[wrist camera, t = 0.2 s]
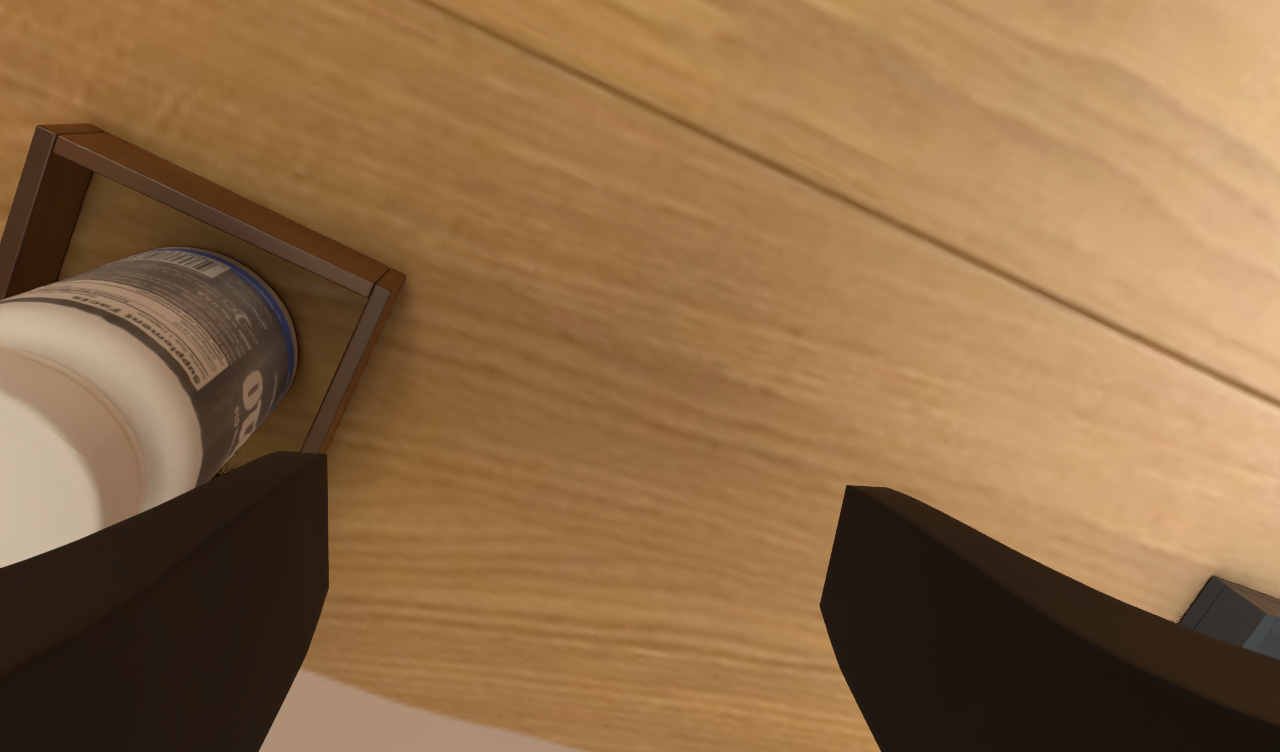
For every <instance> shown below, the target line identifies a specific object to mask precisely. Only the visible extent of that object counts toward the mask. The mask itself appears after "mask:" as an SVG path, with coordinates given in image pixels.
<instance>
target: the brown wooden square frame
mask: <svg viewBox="0 0 1280 752" xmlns="http://www.w3.org/2000/svg"><path fill="white" fill-rule="evenodd" d="M92 171H94V172H96V173H98V174H100V175H102V176H105V177H107V178H109V179H111V180H113V181H115V182H118V183H120V184H122V185H124V186H126V187H128V188H131V189H133V190H135V191H137V192H139V193H141V194H143V195H146V196H148V197H150V198H152V199H154V200H156V201H159V202H161V203H163V204H165V205H167V206H169V207H172V208H174V209H176V210H178V211H180V212H182V213H184V214H187V215H189V216H191V217H193V218H195V219H197V220H200V221H202V222H204V223H206V224H208V225H210V226H213V227H215V228H217V229H219V230H221V231H223V232H225V233H228V234H230V235H232V236H234V237H236V238H238V239H241V240H243V241H245V242H247V243H249V244H251V245H254V246H256V247H258V248H260V249H262V250H264V251H266V252H269V253H271V254H273V255H275V256H277V257H279V258H282V259H284V260H286V261H288V262H290V263H292V264H295V265H297V266H299V267H301V268H303V269H305V270H308V271H310V272H312V273H314V274H316V275H318V276H320V277H323V278H325V279H327V280H329V281H331V282H333V283H336V284H338V285H340V286H342V287H344V288H346V289H349V290H351V291H353V292H355V293H357V294H359V295H361V296H364V297H366V298H368V297H369V298H368V301H367V303H366V305H365V307H364V310H363V312H362V314H361V316H360V319H359V321H358V323H357V325H356V328H355V330H354V332H353V334H352V336H351V339H350V341H349V343H348V345H347V348H346V350H345V352H344V354H343V357H342V359H341V361H340V363H339V366H338V368H337V370H336V372H335V375H334V377H333V379H332V381H331V383H330V386H329V388H328V390H327V392H326V395H325V397H324V399H323V401H322V404H321V406H320V408H319V410H318V413H317V415H316V417H315V419H314V421H313V424H312V426H311V428H310V430H309V433H308V435H307V437H306V439H305V442H304V444H303V446H302V448H301V451H300V452H301V453H318V454H325V453H326V450H327V448H328V446H329V444H330V442H331V439H332V437H333V435H334V433H335V431H336V429H337V426H338V424H339V422H340V420H341V418H342V415H343V413H344V411H345V409H346V407H347V404H348V402H349V400H350V398H351V396H352V394H353V391H354V389H355V387H356V385H357V383H358V380H359V378H360V376H361V374H362V372H363V369H364V367H365V365H366V363H367V361H368V359H369V356H370V354H371V352H372V350H373V348H374V345H375V343H376V341H377V339H378V337H379V334H380V332H381V330H382V328H383V326H384V324H385V321H386V319H387V317H388V315H389V313H390V310H391V308H392V306H393V304H394V302H395V299H396V297H397V295H398V293H399V291H400V289H401V286H402V284H403V282H404V280H405V278H406V275H405V274H403V273H401V272H398V271H396V270H394V269H390V268H389V267H388V266H386V265H384V264H382V263H380V262H377V261H375V260H373V259H371V258H369V257H367V256H365V255H363V254H361V253H359V252H357V251H354V250H352V249H350V248H348V247H346V246H344V245H342V244H340V243H338V242H336V241H333V240H331V239H329V238H327V237H325V236H323V235H321V234H319V233H317V232H315V231H312V230H310V229H308V228H306V227H304V226H302V225H300V224H298V223H296V222H294V221H292V220H289V219H287V218H285V217H283V216H281V215H279V214H277V213H275V212H273V211H271V210H268V209H266V208H264V207H262V206H260V205H258V204H256V203H254V202H252V201H250V200H248V199H245V198H243V197H241V196H239V195H237V194H235V193H233V192H231V191H229V190H227V189H224V188H222V187H220V186H218V185H216V184H214V183H212V182H210V181H208V180H206V179H203V178H201V177H199V176H197V175H195V174H193V173H191V172H189V171H187V170H185V169H183V168H180V167H178V166H176V165H174V164H172V163H170V162H168V161H166V160H164V159H162V158H159V157H157V156H155V155H153V154H151V153H149V152H147V151H145V150H143V149H141V148H139V147H136V146H134V145H132V144H130V143H128V142H126V141H124V140H122V139H120V138H118V137H115V136H113V135H111V134H109V133H105V132H104V131H103V130H101V129H99V128H97V127H94V126H92V125H90V124H87V123H86V124H57V125H37V127H36V129H35V132H34V136H33V139H32V142H31V145H30V149H29V152H28V155H27V158H26V162H25V165H24V168H23V171H22V175H21V178H20V181H19V184H18V188H17V191H16V194H15V197H14V201H13V204H12V207H11V210H10V214H9V217H8V220H7V223H6V227H5V230H4V233H3V236H2V239H1V243H0V300H4V299H7V298H9V297H12V296H15V295H18V294H22V293H25V292H28V291H31V290H33V289H36V288H39V287H43V286H46V285H49V284H52V283H55V281H56V278H57V275H58V272H59V269H60V266H61V263H62V260H63V257H64V254H65V251H66V248H67V245H68V242H69V239H70V236H71V233H72V230H73V227H74V224H75V221H76V218H77V215H78V212H79V209H80V206H81V203H82V200H83V197H84V194H85V191H86V188H87V185H88V182H89V179H90V176H91V173H92ZM217 477H219V476H217V475H214V476H213V477H212V478H211V479H210V480H209V481H211V480H213V479H215V478H217Z"/></svg>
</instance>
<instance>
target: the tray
mask: <svg viewBox="0 0 1280 752" xmlns="http://www.w3.org/2000/svg"><path fill="white" fill-rule="evenodd" d="M1179 625H1181V626H1184V627H1187V628H1189V629H1192V630H1195V631H1197V632H1200V633H1203V634H1205V635H1208V636H1211V637H1214V638H1216V639H1219V640H1222V641H1225V642H1228V643H1231V644H1234V645H1237V646H1240V647H1243V648H1246V649H1249V650H1252V651H1255V652H1258V653H1261V654H1264V655H1267V656H1270V657H1273V658H1276V659H1279V660H1280V600H1279V599H1276V598H1274V597H1271V596H1268V595H1265V594H1262V593H1260V592H1257V591H1254V590H1251V589H1249V588H1246V587H1243V586H1240V585H1238V584H1235V583H1232V582H1229V581H1226V580H1224V579H1221V578H1218V577H1215V576H1213V577H1212V578H1211V580H1210V581H1209V583H1208V584H1207V585H1206V587H1205V588H1204V590H1203V591H1202V592H1201V594H1200V595H1199V597H1198V598H1197V600H1196V601H1195V602H1194V604H1193V605H1192V607H1191V608H1190V609H1189V611H1188V612H1187V614H1186V615H1185V616H1184V618H1183V619H1182V621H1181V622H1180V624H1179Z"/></svg>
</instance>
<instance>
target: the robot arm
mask: <svg viewBox="0 0 1280 752" xmlns="http://www.w3.org/2000/svg"><path fill="white" fill-rule="evenodd" d="M328 589H329V560H328V480H327V454H318V453H301V452H285V451H278V452H275V453H271V454H268V455H266V456H263V457H261V458H258V459H256V460H254V461H251V462H249V463H247V464H245V465H242V466H240V467H238V468H236V469H234V470H232V471H230V472H228V473H225V474H223V475H221V476H219V477H217V478H215V479H213V480H211V481H209V482H207V483H204V484H202V485H200V486H198V487H196V488H194V489H192V490H190V491H188V492H185V493H183V494H181V495H179V496H177V497H175V498H173V499H171V500H169V501H166V502H164V503H162V504H160V505H158V506H156V507H153V508H151V509H149V510H146V511H144V512H142V513H139V514H137V515H135V516H132V517H130V518H128V519H125V520H123V521H121V522H118V523H116V524H114V525H111V526H109V527H107V528H104V529H102V530H100V531H97V532H95V533H93V534H90V535H88V536H86V537H83V538H81V539H79V540H76V541H74V542H71V543H68V544H66V545H63V546H61V547H58V548H56V549H53V550H50V551H47V552H45V553H42V554H39V555H37V556H34V557H31V558H28V559H26V560H23V561H20V562H17V563H14V564H11V565H8V566H5V567H2V568H0V752H259V750H260V748H261V745H262V744H263V742H264V740H265V737H266V736H267V734H268V732H269V729H270V728H271V726H272V723H273V722H274V720H275V718H276V716H277V714H278V712H279V710H280V708H281V705H282V703H283V702H284V700H285V697H286V695H287V693H288V691H289V689H290V687H291V685H292V683H293V681H294V679H295V677H296V675H297V673H298V671H299V669H300V667H301V665H302V663H303V661H304V658H305V656H306V654H307V652H308V649H309V646H310V643H311V640H312V637H313V635H314V632H315V629H316V626H317V623H318V620H319V617H320V614H321V611H322V607H323V604H324V601H325V598H326V595H327V592H328ZM820 609H821V612H822V615H823V619H824V622H825V625H826V628H827V632H828V635H829V638H830V641H831V644H832V647H833V650H834V653H835V655H836V658H837V661H838V664H839V667H840V669H841V671H842V673H843V675H844V677H845V680H846V682H847V684H848V686H849V688H850V690H851V692H852V694H853V696H854V698H855V700H856V702H857V704H858V706H859V708H860V710H861V712H862V714H863V716H864V718H865V720H866V722H867V724H868V726H869V728H870V730H871V732H872V734H873V736H874V738H875V740H876V742H877V744H878V746H879V748H880V750H881V752H1280V660H1279V659H1276V658H1273V657H1270V656H1267V655H1264V654H1261V653H1258V652H1255V651H1252V650H1249V649H1246V648H1243V647H1240V646H1237V645H1234V644H1231V643H1228V642H1225V641H1222V640H1219V639H1216V638H1214V637H1211V636H1208V635H1205V634H1203V633H1200V632H1197V631H1195V630H1192V629H1189V628H1187V627H1184V626H1181V625H1179V624H1176V623H1174V622H1171V621H1169V620H1166V619H1164V618H1162V617H1159V616H1157V615H1154V614H1152V613H1149V612H1147V611H1144V610H1142V609H1139V608H1137V607H1134V606H1132V605H1129V604H1127V603H1124V602H1122V601H1120V600H1118V599H1115V598H1113V597H1111V596H1109V595H1106V594H1104V593H1102V592H1099V591H1097V590H1095V589H1093V588H1091V587H1089V586H1087V585H1085V584H1082V583H1080V582H1078V581H1076V580H1074V579H1072V578H1070V577H1068V576H1066V575H1064V574H1061V573H1059V572H1057V571H1055V570H1053V569H1051V568H1049V567H1047V566H1045V565H1043V564H1041V563H1039V562H1037V561H1035V560H1033V559H1031V558H1029V557H1027V556H1025V555H1023V554H1021V553H1019V552H1017V551H1015V550H1013V549H1011V548H1009V547H1008V546H1006V545H1004V544H1002V543H1000V542H998V541H996V540H994V539H992V538H990V537H988V536H987V535H985V534H983V533H981V532H979V531H977V530H975V529H973V528H971V527H970V526H968V525H966V524H964V523H962V522H960V521H958V520H956V519H954V518H952V517H951V516H949V515H947V514H945V513H943V512H941V511H939V510H937V509H935V508H933V507H931V506H929V505H927V504H925V503H923V502H921V501H919V500H917V499H915V498H912V497H910V496H908V495H906V494H903V493H901V492H898V491H895V490H892V489H890V488H886V487H869V486H852V485H847V486H846V490H845V495H844V499H843V504H842V508H841V512H840V517H839V521H838V526H837V530H836V535H835V539H834V544H833V548H832V553H831V557H830V562H829V566H828V571H827V575H826V579H825V584H824V588H823V593H822V597H821V602H820Z"/></svg>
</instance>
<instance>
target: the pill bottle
mask: <svg viewBox="0 0 1280 752" xmlns="http://www.w3.org/2000/svg"><path fill="white" fill-rule="evenodd" d="M297 361H298V348H297V340H296V334H295V330H294V326H293V323H292V320H291V318H290V315H289V313H288V311H287V309H286V307H285V305H284V304H283V303H282V302H281V300H280V299H279V297H278V296H277V295H276V293H275V292H274V291H273V290H272V289H271V288H270V286H269V285H268V284H267V283H266V282H264V281H263V280H262V279H261V278H260V277H259V276H258V275H257V274H256V273H254V272H253V271H251V270H250V269H249V268H247V267H246V266H244V265H242V264H241V263H239V262H238V261H236V260H234V259H232V258H230V257H227V256H225V255H222V254H219V253H217V252H214V251H210V250H205V249H200V248H193V247H164V248H158V249H153V250H149V251H146V252H142V253H138V254H135V255H132V256H129V257H126V258H123V259H120V260H118V261H115V262H111V263H108V264H105V265H103V266H99V267H96V268H94V269H91V270H88V271H85V272H83V273H80V274H78V275H75V276H71V277H69V278H66V279H64V280H61V281H58V282H55V283H52V284H49V285H46V286H43V287H39V288H36V289H33V290H31V291H28V292H25V293H22V294H18V295H15V296H12V297H9V298H7V299H4V300H0V568H2V567H5V566H8V565H11V564H14V563H17V562H20V561H23V560H26V559H28V558H31V557H34V556H37V555H39V554H42V553H45V552H47V551H50V550H53V549H56V548H58V547H61V546H63V545H66V544H68V543H71V542H74V541H76V540H79V539H81V538H83V537H86V536H88V535H90V534H93V533H95V532H97V531H100V530H102V529H104V528H107V527H109V526H111V525H114V524H116V523H118V522H121V521H123V520H125V519H128V518H130V517H132V516H135V515H137V514H139V513H142V512H144V511H146V510H149V509H151V508H153V507H156V506H158V505H160V504H162V503H164V502H166V501H169V500H171V499H173V498H175V497H177V496H179V495H181V494H183V493H185V492H188V491H190V490H192V489H194V488H196V487H198V486H200V485H202V484H204V483H207V482H209V480H210V479H211V478H212V477H213V476H214V475H215V474H216V473H217V472H218V470H219V469H220V468H221V467H222V466H223V465H224V464H225V463H226V462H227V461H228V460H229V459H230V458H231V457H232V456H233V455H234V454H235V452H236V451H237V450H238V449H239V448H240V447H241V446H242V445H243V444H244V443H245V442H246V441H247V440H248V438H249V437H250V436H251V435H252V434H253V433H254V432H255V430H256V429H257V428H258V427H259V426H260V425H261V424H262V423H263V421H264V420H265V419H266V418H267V417H268V416H269V415H270V414H271V413H272V412H273V411H274V409H275V408H276V407H277V406H278V404H279V403H280V402H281V400H282V399H283V398H284V396H285V395H286V393H287V391H288V390H289V388H290V386H291V383H292V381H293V378H294V376H295V373H296V368H297Z"/></svg>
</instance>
